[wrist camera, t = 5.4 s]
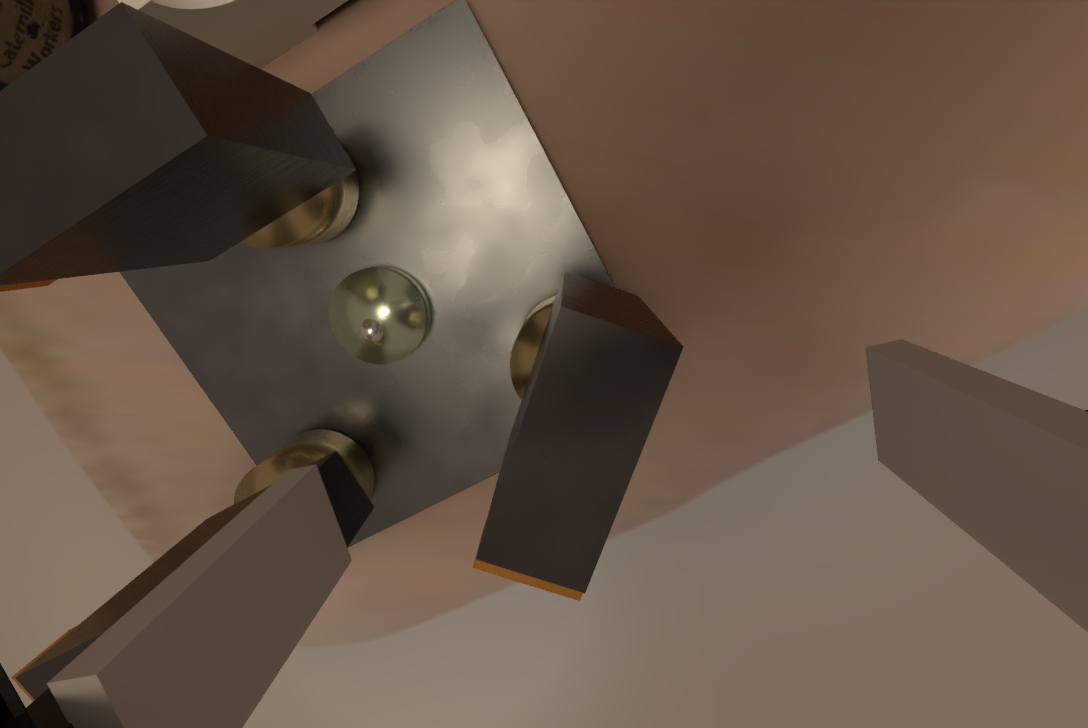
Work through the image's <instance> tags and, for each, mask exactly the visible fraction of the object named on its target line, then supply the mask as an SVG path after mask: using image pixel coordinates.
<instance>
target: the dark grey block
mask: <svg viewBox="0 0 1088 728" xmlns="http://www.w3.org/2000/svg"><path fill="white" fill-rule="evenodd" d="M682 349H683V346H682V345H681V343H680V342H679V341H678V340H677V339H676V338H675V337H674V336H673V334H672V333H671V332H670V331H669V330H668V329H667V328H666V327H665V326H664V324H663V323H662V322H661V321H660V320H659V319H658V318H657V317H656V315H655V314H654V313H653V312H652V311H651V310H650V309H649V308H648V306H647V305H646V304H645V303H644V302H643V301H642V300H641V299H640V298H639V296H637V295H634V294H631V293H628V292H625V291H622V290H619V289H616V288H613V287H610V286H607V285H604V284H601V283H598V282H595V281H592V280H589V279H586V278H583V277H580V276H577V275H574V274H571V273H568V272H565V271H564V273H563V276H562V279H561V283H560V286H559V289H558V292H557V295H556V296H553V297H550V298H548V299H546V300H544V301H543V302H541V303H540V304H538V305H537V306H536V307H535V308H534V309H533V310H532V311H531V312H530V313H529V315H528V316H527V317H526V319H525V321H524V322H523V324H522V327H521V329H520V331H519V333H518V336H517V338H516V340H515V343H514V345H513V348H512V352H511V356H510V374H511V380H512V383H513V386H514V388H515V391H516V393H517V395H518V396H519V398H520V399H521V403H520V406H519V409H518V412H517V415H516V418H515V421H514V425H513V428H512V431H511V434H510V437H509V441H508V445H507V448H506V452H505V455H504V459H503V463H502V466H501V470H500V474H499V477H498V481H497V484H496V488H495V492H494V495H493V499H492V503H491V506H490V510H489V514H488V517H487V520H486V523H485V526H484V529H483V533H482V537H481V540H480V544H479V547H478V551H477V555H476V558H475V562H474V565H473V568H476V569H479V570H482V571H485V572H488V573H492V574H495V575H498V576H501V577H505V578H508V579H511V580H514V581H517V582H521V583H524V584H527V585H530V586H534V587H537V588H540V589H543V590H546V591H550V592H553V593H556V594H559V595H563V596H566V597H569V598H572V599H575V600H579V601H580V599H581V597H582V594H583V593H585V592H586V589H587V587H588V584H589V582H590V579H591V577H592V574H593V572H594V569H595V567H596V564H597V562H598V559H599V557H600V554H601V552H602V549H603V547H604V544H605V542H606V539H607V537H608V534H609V532H610V529H611V527H612V524H613V522H614V519H615V517H616V514H617V512H618V509H619V507H620V504H621V502H622V499H623V497H624V494H625V492H626V489H627V487H628V484H629V482H630V479H631V477H632V474H633V472H634V469H635V467H636V464H637V462H638V459H639V457H640V454H641V452H642V449H643V447H644V444H645V442H646V439H647V437H648V434H649V432H650V429H651V427H652V424H653V422H654V419H655V417H656V414H657V411H658V409H659V406H660V404H661V401H662V399H663V396H664V394H665V391H666V389H667V386H668V384H669V381H670V379H671V376H672V374H673V371H674V369H675V366H676V364H677V361H678V359H679V356H680V354H681V351H682Z"/></svg>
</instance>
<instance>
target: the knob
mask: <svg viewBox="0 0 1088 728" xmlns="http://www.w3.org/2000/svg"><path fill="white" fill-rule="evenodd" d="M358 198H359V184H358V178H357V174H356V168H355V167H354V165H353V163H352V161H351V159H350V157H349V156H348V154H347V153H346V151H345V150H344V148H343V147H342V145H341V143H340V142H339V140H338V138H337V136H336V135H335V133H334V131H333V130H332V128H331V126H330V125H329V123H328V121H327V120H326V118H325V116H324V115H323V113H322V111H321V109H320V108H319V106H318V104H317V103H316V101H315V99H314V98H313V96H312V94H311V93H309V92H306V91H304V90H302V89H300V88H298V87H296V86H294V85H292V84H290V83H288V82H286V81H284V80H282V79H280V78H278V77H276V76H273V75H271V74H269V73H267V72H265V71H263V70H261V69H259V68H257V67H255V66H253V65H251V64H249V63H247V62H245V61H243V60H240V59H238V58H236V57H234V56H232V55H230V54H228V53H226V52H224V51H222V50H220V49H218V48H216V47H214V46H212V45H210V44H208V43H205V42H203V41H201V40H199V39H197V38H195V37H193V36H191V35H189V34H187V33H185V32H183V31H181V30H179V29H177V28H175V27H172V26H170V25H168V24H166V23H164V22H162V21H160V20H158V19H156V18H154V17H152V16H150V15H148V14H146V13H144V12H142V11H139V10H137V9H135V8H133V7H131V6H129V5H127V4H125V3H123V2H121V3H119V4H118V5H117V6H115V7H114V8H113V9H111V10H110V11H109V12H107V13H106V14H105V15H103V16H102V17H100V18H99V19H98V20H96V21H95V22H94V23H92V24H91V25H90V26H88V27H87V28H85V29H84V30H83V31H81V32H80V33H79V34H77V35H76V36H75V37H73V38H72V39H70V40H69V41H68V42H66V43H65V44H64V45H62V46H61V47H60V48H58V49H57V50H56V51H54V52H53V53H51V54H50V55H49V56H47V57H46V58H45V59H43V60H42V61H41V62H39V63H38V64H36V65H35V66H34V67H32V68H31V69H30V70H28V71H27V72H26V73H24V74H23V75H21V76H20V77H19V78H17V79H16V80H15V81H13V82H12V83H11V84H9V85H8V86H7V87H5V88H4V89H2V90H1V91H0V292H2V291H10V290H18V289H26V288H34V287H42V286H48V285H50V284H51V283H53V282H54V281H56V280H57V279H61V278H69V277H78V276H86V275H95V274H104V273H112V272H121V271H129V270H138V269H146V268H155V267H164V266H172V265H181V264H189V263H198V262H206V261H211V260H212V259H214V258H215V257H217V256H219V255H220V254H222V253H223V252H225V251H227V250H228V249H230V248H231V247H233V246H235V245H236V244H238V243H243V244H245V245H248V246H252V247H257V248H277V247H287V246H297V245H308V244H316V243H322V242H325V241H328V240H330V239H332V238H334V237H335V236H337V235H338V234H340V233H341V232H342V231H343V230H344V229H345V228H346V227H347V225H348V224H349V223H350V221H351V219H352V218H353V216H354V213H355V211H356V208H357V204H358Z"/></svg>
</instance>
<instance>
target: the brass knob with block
mask: <svg viewBox="0 0 1088 728" xmlns="http://www.w3.org/2000/svg"><path fill="white" fill-rule="evenodd" d="M315 464H316V465H317V468H318V470H319V473H320V476H321V478H322V481H323V484H324V486H325V489H326V492H327V495H328V497H329V500H330V503H331V505H332V508H333V511H334V513H335V516H336V519H337V522H338V524H339V527H340V530H341V532H342V535H343V538H344V540H345V543H346V546H347V547H348V546H349V544H350V543H351V541H352V540H353V538H354V537H355V536H356V534H357V533H358V531H359V530H360V528H361V527H362V525H363V524H364V522H365V521H366V519H367V518H368V516H369V515H370V513H371V512H372V510H373V509H374V505H373V504H372V502H371V501H370V498H371V496H372V493H373V490H374V471H373V467H372V465H371V462H370V460H369V458H368V456H367V455H366V453H365V452H364V451H363V449H362V448H361V447H360V446H359V445H358V444H357V443H356V442H354V441H353V440H352V439H350V438H349V437H347V436H345V435H343V434H341V433H338V432H335V431H331V430H325V429H314V430H308V431H305V432H302V433H300V434H297V435H296V436H294V437H293V438H291V439H290V440H289V441H287V442H286V443H285V444H284V445H282V446H281V447H280V448H278V449H277V450H276V451H275V452H273V453H272V454H271V455H270V456H268V457H267V458H266V459H265V460H263V461H262V462H261V463H259V464H258V465H257V466H256V467H254V468H253V469H252V470H251V471H249V472H248V473H247V474H246V475H245V476H244V478H243V479H242V480H241V482H240V483H239V485H238V487H237V490H236V493H235V497H234V505H232V506H230V507H228V508H226V509H225V510H223V511H221V512H219V513H217V514H215V515H213V516H211V517H210V518H208V519H206V520H205V521H204V522H203V523H201V524H200V525H199V526H198V527H197V528H195V529H194V530H193V531H192V532H191V533H189V534H188V535H187V536H186V537H184V538H183V539H182V540H181V541H180V542H178V543H177V544H176V545H175V546H174V547H172V548H171V549H170V550H169V551H168V552H166V553H165V554H164V555H163V556H162V557H160V558H159V559H158V560H157V561H155V562H154V563H153V564H152V565H151V566H150V567H148V568H147V569H146V570H145V571H143V572H142V573H141V574H140V575H139V576H137V577H136V578H135V579H134V580H132V581H131V582H130V583H129V584H128V585H126V586H125V587H124V588H123V589H122V590H120V591H119V592H118V593H117V594H116V595H114V596H113V597H112V598H111V599H110V600H108V601H107V602H106V603H105V604H104V605H102V606H101V607H100V608H99V609H97V610H96V611H95V612H94V613H93V614H91V615H90V616H89V617H88V618H87V619H85V620H84V621H83V622H82V623H81V624H79V625H78V626H76V627H74V628H72V629H70V630H69V631H67V632H66V633H65V634H64V635H63V636H61V637H60V638H59V639H58V640H56V641H55V642H54V643H53V644H52V645H50V646H49V647H48V648H47V649H46V650H44V651H43V652H42V653H41V654H39V655H38V656H37V657H36V658H34V659H33V660H32V661H31V662H30V663H28V664H27V665H26V666H25V667H24V668H22V669H21V670H20V671H19V672H18V673H16V674H15V675H14V676H13V677H12V679H13V680H14V681H15V682H16V683H17V684H18V685H19V686H20V688H21V689H22V690H23V691H24V692H25V693H26V694H27V696H28V697H29V698H30V699H31V700H32V701H35V700H36V699H37V698H38V697H39V696H40V695H41V694H42V693H44V692H45V691H46V690H47V689H48V688H49V687H48V685H47V683H48V682H49V681H50V680H51V679H52V678H53V677H55V676H56V675H57V674H58V673H59V672H60V671H61V670H62V669H64V668H65V667H66V666H67V665H68V664H69V663H70V662H72V661H73V660H74V659H75V658H76V657H77V656H78V655H79V654H81V653H82V652H83V651H84V650H85V649H86V648H87V647H88V646H90V645H91V644H92V643H93V642H94V641H95V640H96V639H98V638H99V637H100V636H101V635H102V634H103V633H104V632H105V631H107V630H108V629H109V628H110V627H111V626H112V625H113V624H115V623H116V622H117V621H118V620H119V619H120V618H121V617H122V616H124V615H125V614H126V613H127V612H128V611H129V610H130V609H131V608H133V607H134V606H135V605H136V604H137V603H138V602H139V601H141V600H142V599H143V598H144V597H145V596H146V595H147V594H148V593H150V592H151V591H152V590H153V589H154V588H155V587H156V586H158V585H159V584H160V583H161V582H162V581H163V580H164V579H165V578H167V577H168V576H169V575H170V574H171V573H172V572H173V571H174V570H176V569H177V568H178V567H179V566H180V565H181V564H182V563H184V562H185V561H186V560H187V559H188V558H189V557H190V556H191V555H193V554H194V553H195V552H196V551H197V550H198V549H199V548H201V547H202V546H203V545H204V544H205V543H206V542H207V541H208V540H210V539H211V538H212V537H213V536H214V535H215V534H216V533H217V532H219V531H220V530H221V529H222V528H223V527H224V526H225V525H227V524H228V523H229V522H230V521H231V520H232V519H233V518H234V517H236V516H237V515H238V514H239V513H240V512H241V511H242V510H244V509H245V508H246V507H247V506H248V505H249V504H250V503H251V502H253V501H254V500H255V499H256V498H257V497H258V496H259V495H260V494H262V493H263V492H264V491H265V490H266V489H267V488H268V487H270V486H271V485H272V484H273V483H274V482H275V481H276V480H277V479H279V478H280V477H281V476H282V475H283V474H284V473H285V472H286V471H288V470H292V469H296V468H301V467H306V466H310V465H315Z"/></svg>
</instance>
